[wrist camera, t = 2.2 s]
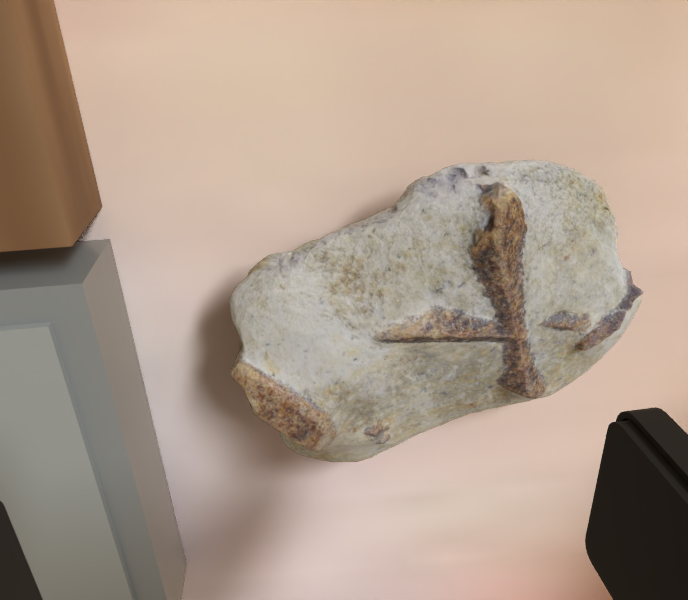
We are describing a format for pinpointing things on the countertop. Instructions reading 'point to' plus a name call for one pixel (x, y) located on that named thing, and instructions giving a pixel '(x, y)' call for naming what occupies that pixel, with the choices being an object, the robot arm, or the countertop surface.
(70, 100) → the walnut stand
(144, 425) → the slate stand
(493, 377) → the stone
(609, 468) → the robot arm
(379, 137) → the countertop surface
